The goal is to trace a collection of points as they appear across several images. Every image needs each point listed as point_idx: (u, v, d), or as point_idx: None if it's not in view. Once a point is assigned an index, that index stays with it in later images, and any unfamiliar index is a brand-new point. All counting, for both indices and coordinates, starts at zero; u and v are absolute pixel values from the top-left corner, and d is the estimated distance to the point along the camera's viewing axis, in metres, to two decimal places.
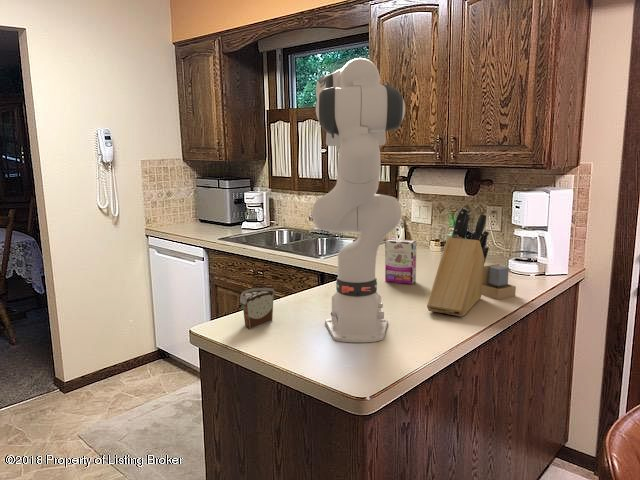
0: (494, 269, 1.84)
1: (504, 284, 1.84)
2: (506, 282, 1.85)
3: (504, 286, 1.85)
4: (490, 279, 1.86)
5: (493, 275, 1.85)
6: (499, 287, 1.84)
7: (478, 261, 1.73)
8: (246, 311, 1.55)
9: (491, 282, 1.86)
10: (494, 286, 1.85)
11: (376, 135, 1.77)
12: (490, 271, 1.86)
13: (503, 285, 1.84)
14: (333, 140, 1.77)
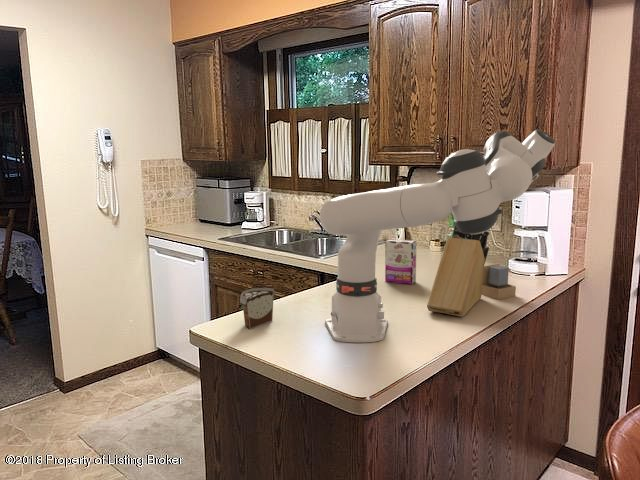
0: (494, 269, 1.84)
1: (504, 284, 1.84)
2: (506, 282, 1.85)
3: (504, 286, 1.85)
4: (490, 279, 1.86)
5: (493, 275, 1.85)
6: (499, 287, 1.84)
7: (478, 261, 1.73)
8: (246, 311, 1.55)
9: (491, 282, 1.86)
10: (494, 286, 1.85)
11: None
12: (490, 271, 1.86)
13: (503, 285, 1.84)
14: None
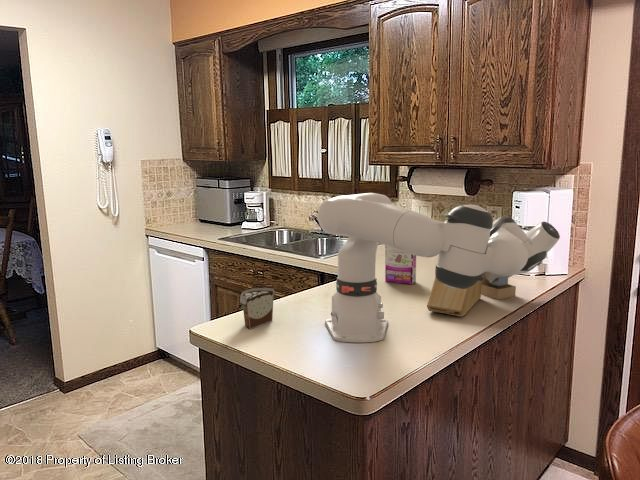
0: None
1: (504, 284, 1.84)
2: (506, 282, 1.85)
3: (504, 286, 1.85)
4: None
5: None
6: (499, 287, 1.84)
7: None
8: (246, 311, 1.55)
9: (491, 282, 1.86)
10: (494, 286, 1.85)
11: None
12: None
13: (503, 285, 1.84)
14: (494, 276, 1.77)
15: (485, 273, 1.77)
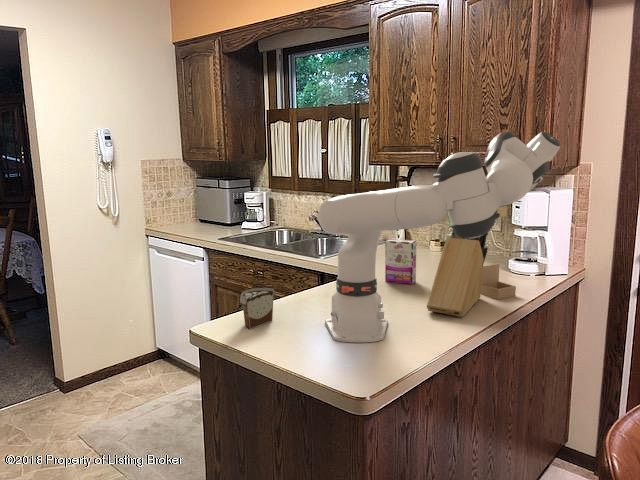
0: None
1: None
2: None
3: (504, 206, 1.81)
4: None
5: None
6: (498, 207, 1.80)
7: (477, 261, 1.73)
8: (246, 311, 1.55)
9: None
10: None
11: None
12: None
13: (502, 205, 1.81)
14: None
15: None
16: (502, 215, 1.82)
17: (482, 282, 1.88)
